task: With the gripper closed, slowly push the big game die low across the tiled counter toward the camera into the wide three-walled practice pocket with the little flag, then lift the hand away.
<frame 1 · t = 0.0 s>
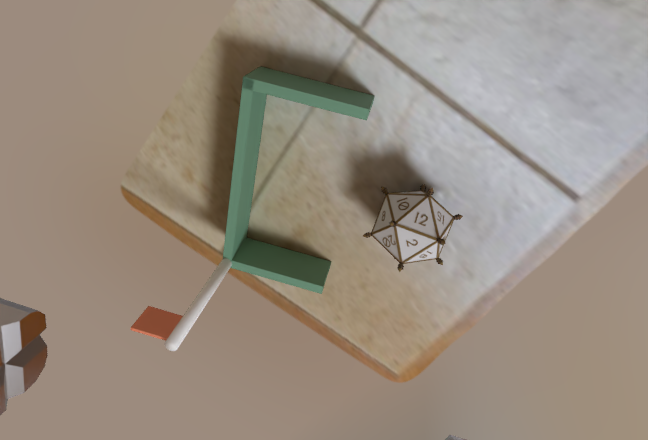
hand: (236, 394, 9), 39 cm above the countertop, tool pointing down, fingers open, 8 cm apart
game die: (413, 207, 49), on the countertop
practice pocket: (322, 183, 50), on the countertop
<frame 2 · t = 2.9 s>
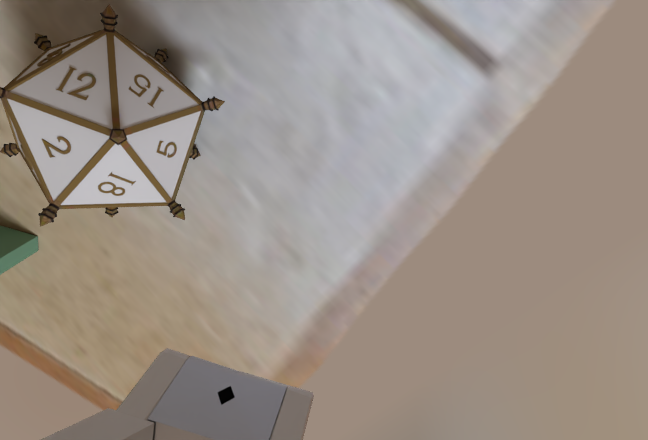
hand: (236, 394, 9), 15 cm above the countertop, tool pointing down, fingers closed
game die: (159, 109, 23), on the countertop
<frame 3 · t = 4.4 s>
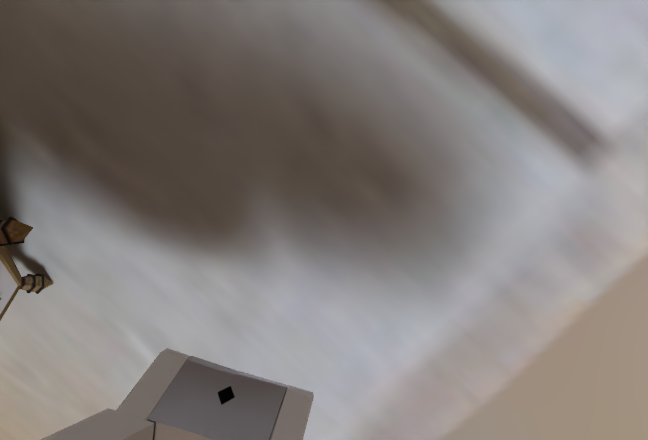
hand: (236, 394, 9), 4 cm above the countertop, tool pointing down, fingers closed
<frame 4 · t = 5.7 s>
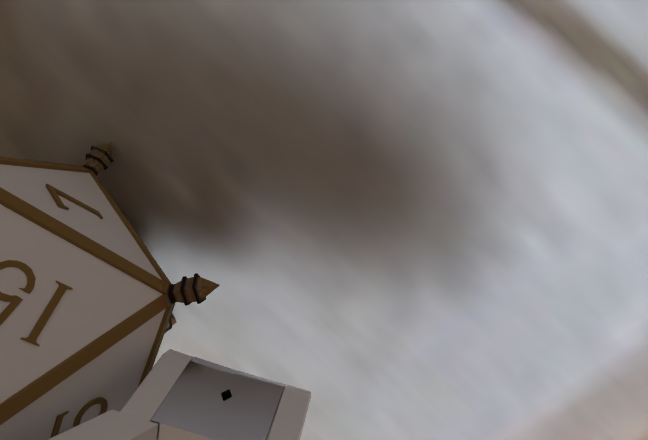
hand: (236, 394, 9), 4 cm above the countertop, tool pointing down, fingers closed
game die: (101, 242, 13), on the countertop, touching gripper
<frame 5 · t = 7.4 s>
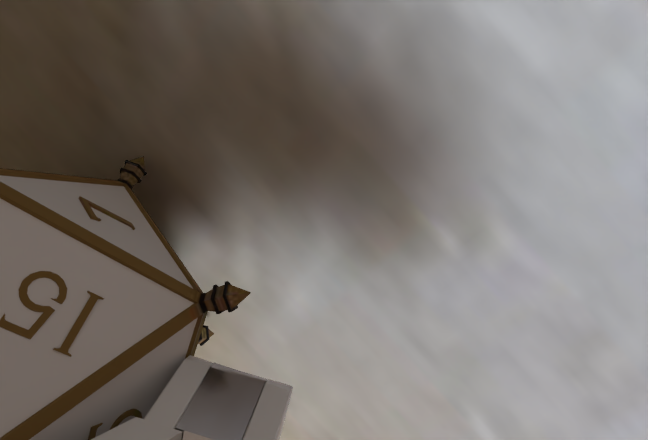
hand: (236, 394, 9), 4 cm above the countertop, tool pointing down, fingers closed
game die: (139, 255, 13), on the countertop, touching gripper
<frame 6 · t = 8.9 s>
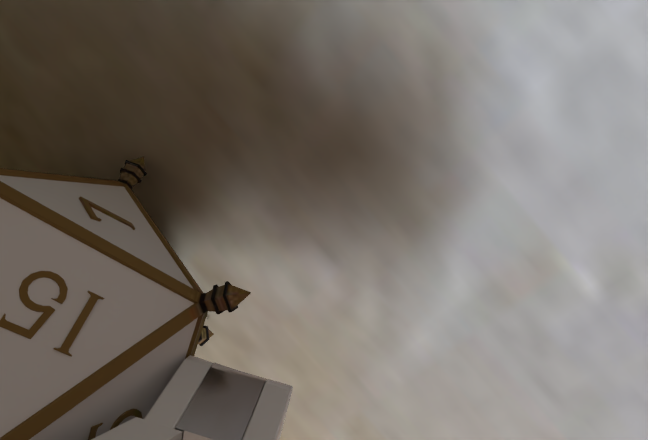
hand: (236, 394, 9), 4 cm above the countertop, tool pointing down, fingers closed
game die: (139, 255, 13), on the countertop, touching gripper
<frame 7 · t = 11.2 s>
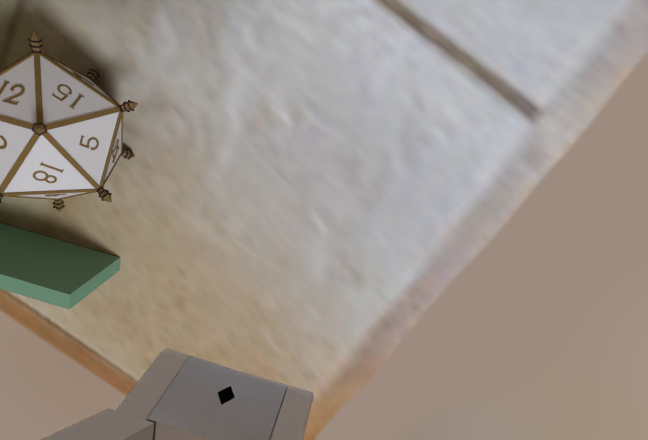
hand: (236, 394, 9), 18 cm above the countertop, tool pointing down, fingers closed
game die: (97, 120, 28), on the countertop
practice pocket: (81, 104, 27), on the countertop
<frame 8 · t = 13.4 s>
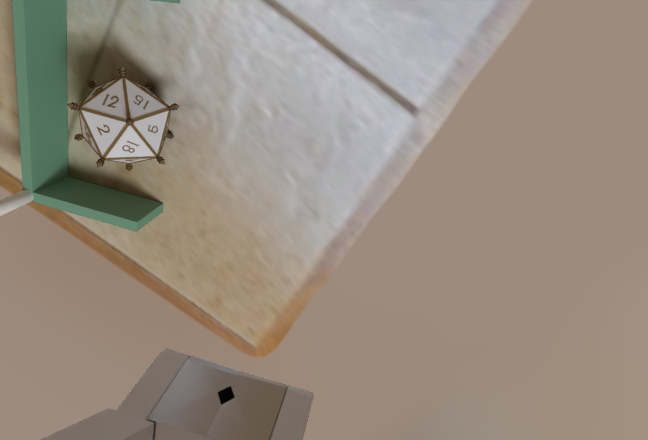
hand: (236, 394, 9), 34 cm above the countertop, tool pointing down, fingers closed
game die: (150, 113, 44), on the countertop
practice pocket: (140, 104, 43), on the countertop
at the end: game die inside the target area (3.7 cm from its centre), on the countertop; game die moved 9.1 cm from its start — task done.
